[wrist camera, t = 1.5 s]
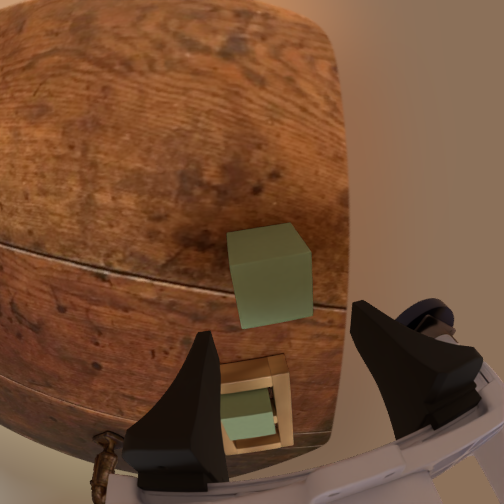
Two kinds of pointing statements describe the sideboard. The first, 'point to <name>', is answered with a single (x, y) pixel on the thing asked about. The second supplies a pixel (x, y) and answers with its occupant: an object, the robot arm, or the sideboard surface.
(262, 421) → the green cubic block
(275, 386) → the backing frame
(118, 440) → the figurine
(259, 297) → the olive green cubic block
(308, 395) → the sideboard surface
